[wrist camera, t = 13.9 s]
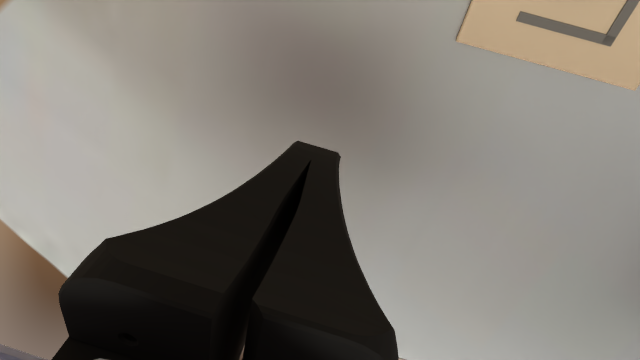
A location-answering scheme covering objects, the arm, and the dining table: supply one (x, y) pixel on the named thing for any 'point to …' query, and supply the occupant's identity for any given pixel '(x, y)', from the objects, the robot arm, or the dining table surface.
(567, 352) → the dining table surface
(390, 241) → the dining table surface
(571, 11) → the sketch pad
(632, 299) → the dining table surface
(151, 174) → the dining table surface
